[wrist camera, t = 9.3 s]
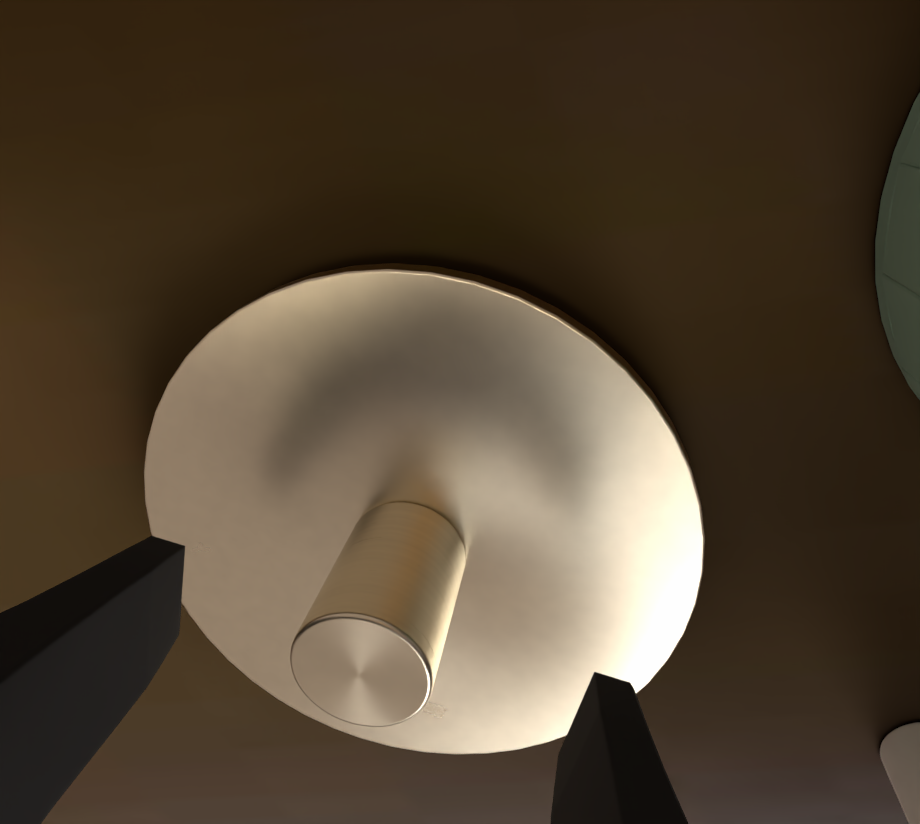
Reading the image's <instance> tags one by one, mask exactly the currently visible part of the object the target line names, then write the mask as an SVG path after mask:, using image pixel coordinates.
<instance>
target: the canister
mask: <svg viewBox="0 0 920 824" xmlns="http://www.w3.org/2000/svg"><path fill="white" fill-rule="evenodd" d="M875 283H876V289H877V295H878V301H879V308H880V314H881V320H882V323H883V326H884V329H885V332H886V336H887V339H888V342H889V345H890V348H891V351H892V354H893V356H894V358H895V360H896V362H897V364H898V366H899V368H900V370H901V371H902V373H903V375H904V377H905V379H906V381H907V383H908V385H909V387H910V388H911V389H912V391H913V392H914V393H915V395H916V396H917V397H918V399H919V400H920V92H919V94H918V96H917V98H916V100H915V102H914V103H913V106H912V108H911V111H910V113H909V116H908V118H907V120H906V123H905V125H904V128H903V130H902V133H901V135H900V138H899V140H898V142H897V145H896V147H895V150H894V153H893V156H892V160H891V164H890V167H889V171H888V175H887V178H886V182H885V185H884V189H883V193H882V196H881V203H880V210H879V217H878V225H877V232H876V239H875Z"/></svg>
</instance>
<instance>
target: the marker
mask: <svg viewBox="0 0 920 824" xmlns="http://www.w3.org/2000/svg"><path fill="white" fill-rule="evenodd" d="M880 758H881V760H882V763H883V765H884V767H885V770H886V772H887V774H888V777H889V779H890V781H891V783H892V786H893V788H894V790H895V793H896V795H897V797H898V800H899V802H900V804H901V807H902V809H903V811H904V814H905V816H906V818H907V821H908V823H909V824H920V722H917V723H911V724H907V725H903V726H901V727H898V728H896V729H895V730H893V731H892V732H890V733H889V734H888V735H887V736H886V737H885V738H884V740H883V741H882V744H881V747H880Z"/></svg>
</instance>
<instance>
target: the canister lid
mask: <svg viewBox="0 0 920 824" xmlns="http://www.w3.org/2000/svg"><path fill="white" fill-rule="evenodd" d="M144 486H145V504H146V509H147V515H148V521H149V526H150V531H151V535H152V536H154V537H158V538H161V539H164V540H168V541H171V542H174V543H177V544H181V545H184V546H185V557H184V572H183V586H182V600H181V603H182V604H183V606H184V607H185V609H186V611H187V612H188V614H189V615H190V617H191V618H192V619H193V620H194V622H195V623H196V624H197V626H198V627H199V628H200V630H201V631H202V632H203V633H204V635H205V636H206V637H207V638H208V640H209V641H210V642H211V643H212V644H213V645H214V646H215V647H216V648H217V649H218V650H219V651H220V652H221V653H222V654H223V655H224V656H225V657H226V659H227V660H228V661H230V662H231V663H232V664H233V665H234V666H235V667H236V668H238V669H239V670H240V671H241V672H242V673H243V674H244V675H246V676H247V677H248V678H249V679H250V680H251V681H253V682H254V683H256V684H257V685H258V686H260V687H261V688H263V689H264V690H265V691H267V692H268V693H270V694H271V695H272V696H274V697H275V698H277V699H278V700H280V701H282V702H283V703H285V704H287V705H288V706H290V707H292V708H293V709H295V710H297V711H299V712H300V713H302V714H304V715H306V716H308V717H310V718H312V719H314V720H316V721H319V722H321V723H323V724H325V725H327V726H329V727H331V728H334V729H336V730H339V731H342V732H345V733H347V734H350V735H353V736H356V737H358V738H361V739H365V740H368V741H372V742H376V743H380V744H383V745H387V746H391V747H396V748H402V749H408V750H414V751H420V752H428V753H442V754H488V753H496V752H504V751H512V750H518V749H522V748H527V747H531V746H535V745H540V744H544V743H547V742H550V741H553V740H556V739H559V738H561V737H564V736H567V734H568V731H569V729H570V727H571V724H572V722H573V720H574V717H575V715H576V713H577V711H578V708H579V706H580V704H581V701H582V699H583V697H584V694H585V692H586V690H587V688H588V685H589V683H590V681H591V678H592V676H593V674H594V672H597V673H601V674H604V675H607V676H610V677H614V678H617V679H620V680H623V681H627V682H630V683H631V685H632V686H633V688H634V690H635V693H636V694H637V693H638V692H639V691H640V690H641V689H642V688H643V687H645V686H646V685H647V684H648V683H649V682H650V681H651V680H652V678H653V677H654V676H655V675H656V674H657V672H658V671H659V670H660V669H661V668H662V666H663V665H664V664H665V663H666V662H667V660H668V659H669V658H670V656H671V654H672V653H673V651H674V649H675V648H676V646H677V644H678V643H679V641H680V639H681V638H682V636H683V634H684V633H685V631H686V628H687V625H688V623H689V620H690V618H691V615H692V613H693V610H694V608H695V605H696V603H697V599H698V594H699V590H700V585H701V580H702V576H703V571H704V553H705V531H704V522H703V513H702V505H701V500H700V496H699V492H698V489H697V485H696V482H695V478H694V475H693V471H692V467H691V464H690V460H689V457H688V455H687V453H686V451H685V448H684V446H683V444H682V442H681V440H680V437H679V435H678V433H677V431H676V428H675V426H674V424H673V423H672V421H671V419H670V418H669V416H668V415H667V413H666V412H665V410H664V409H663V407H662V405H661V404H660V402H659V401H658V399H657V398H656V396H655V395H654V393H653V391H652V390H651V389H650V388H649V387H648V386H647V384H646V383H645V382H644V381H643V380H642V379H641V377H640V376H639V375H638V374H637V373H636V372H635V370H634V369H633V368H632V367H631V366H630V365H629V364H628V362H627V361H626V360H625V359H624V358H623V357H621V356H620V355H619V354H618V353H617V352H616V351H615V350H613V349H612V348H611V347H610V346H609V345H608V344H607V343H605V342H604V341H603V340H602V339H601V338H600V337H599V336H598V335H596V334H595V333H594V332H593V331H591V330H590V329H588V328H587V327H585V326H584V325H582V324H581V323H579V322H578V321H576V320H575V319H573V318H572V317H570V316H569V315H567V314H566V313H564V312H563V311H561V310H560V309H558V308H556V307H554V306H552V305H550V304H548V303H546V302H544V301H542V300H540V299H538V298H536V297H534V296H532V295H530V294H528V293H526V292H524V291H522V290H520V289H517V288H515V287H512V286H509V285H506V284H503V283H500V282H497V281H494V280H491V279H488V278H486V277H483V276H480V275H476V274H471V273H466V272H461V271H457V270H452V269H447V268H442V267H437V266H426V265H412V264H398V263H388V264H372V265H356V266H349V267H344V268H339V269H334V270H329V271H324V272H320V273H315V274H312V275H309V276H306V277H303V278H301V279H298V280H295V281H292V282H289V283H287V284H284V285H281V286H278V287H277V288H275V289H273V290H271V291H269V292H267V293H265V294H264V295H262V296H260V297H258V298H256V299H254V300H253V301H251V302H249V303H247V304H245V305H244V306H242V307H241V308H239V309H237V310H236V311H235V312H233V313H232V314H231V315H230V316H228V317H227V318H226V319H224V320H223V321H222V322H220V323H219V324H218V325H216V326H215V327H214V328H213V329H211V330H210V331H209V332H208V333H207V334H206V335H205V336H204V337H203V338H202V339H201V340H200V342H199V343H198V344H197V345H196V346H195V347H194V348H193V349H192V350H191V351H190V352H189V353H188V354H187V355H186V357H185V358H184V360H183V361H182V363H181V364H180V366H179V367H178V369H177V370H176V372H175V373H174V375H173V376H172V378H171V379H170V381H169V382H168V385H167V387H166V389H165V391H164V393H163V396H162V398H161V400H160V402H159V404H158V407H157V409H156V411H155V415H154V418H153V422H152V426H151V430H150V433H149V437H148V441H147V448H146V457H145V466H144Z"/></svg>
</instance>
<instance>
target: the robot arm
mask: <svg viewBox="0 0 920 824" xmlns="http://www.w3.org/2000/svg"><path fill="white" fill-rule="evenodd" d="M184 557H185V546H184V545H181V544H177V543H174V542H171V541H168V540H164V539H161V538H158V537H154V536H151V537H149V538H147V539H145V540H143V541H141V542H139V543H137V544H135V545H133V546H131V547H129V548H127V549H125V550H124V551H122V552H120V553H118V554H116V555H114V556H112V557H110V558H108V559H107V560H105V561H103V562H101V563H99V564H97V565H95V566H93V567H91V568H90V569H88V570H86V571H84V572H82V573H80V574H78V575H76V576H74V577H72V578H71V579H69V580H67V581H65V582H63V583H61V584H59V585H57V586H55V587H53V588H51V589H49V590H47V591H45V592H43V593H41V594H39V595H37V596H35V597H33V598H31V599H29V600H27V601H25V602H23V603H21V604H19V605H17V606H15V607H12V608H10V609H8V610H6V611H4V612H2V613H0V824H41V823H42V821H43V820H44V819H45V817H46V816H47V815H48V813H49V812H50V810H51V809H52V808H53V806H54V805H55V804H56V802H57V801H58V800H59V799H60V797H61V796H62V795H63V794H64V792H65V791H66V790H67V789H68V787H69V786H70V785H71V783H72V782H73V781H74V780H75V778H76V777H77V776H78V775H79V773H80V772H81V771H82V770H83V768H84V767H85V766H86V764H87V763H88V762H89V761H90V759H91V758H92V757H93V756H94V754H95V753H96V752H97V751H98V749H99V748H100V747H101V745H102V744H103V743H104V742H105V740H106V739H107V738H108V737H109V735H110V734H111V733H112V732H113V730H114V729H115V728H116V726H117V725H118V724H119V723H120V721H121V720H122V719H123V717H124V716H125V715H126V714H127V712H128V711H129V710H130V708H131V707H132V706H133V705H134V703H135V702H136V701H137V699H138V698H139V697H140V696H141V694H142V693H143V692H144V690H145V689H146V688H147V686H148V685H149V683H150V681H151V680H152V678H153V677H154V675H155V673H156V672H157V670H158V669H159V667H160V665H161V664H162V662H163V661H164V659H165V657H166V655H167V654H168V652H169V650H170V649H171V647H172V645H173V644H174V642H175V640H176V639H177V637H178V635H179V629H180V615H181V600H182V586H183V572H184ZM551 824H688V822H687V819H686V817H685V815H684V813H683V810H682V808H681V806H680V804H679V801H678V799H677V797H676V794H675V792H674V790H673V788H672V785H671V783H670V781H669V778H668V776H667V774H666V771H665V769H664V766H663V764H662V762H661V759H660V756H659V754H658V751H657V749H656V746H655V744H654V741H653V739H652V736H651V734H650V731H649V728H648V726H647V723H646V720H645V718H644V715H643V712H642V709H641V707H640V704H639V701H638V698H637V696H636V693H635V690H634V688H633V686H632V685H631V683H630V682H627V681H623V680H620V679H617V678H614V677H610V676H607V675H604V674H601V673H597V672H594V674H593V676H592V678H591V681H590V683H589V685H588V688H587V690H586V692H585V694H584V697H583V699H582V701H581V704H580V706H579V708H578V711H577V713H576V715H575V717H574V720H573V722H572V724H571V727H570V729H569V731H568V734H567V736H566V738H565V740H564V743H563V745H562V747H561V750H560V752H559V755H558V763H557V771H556V779H555V787H554V795H553V804H552V813H551Z"/></svg>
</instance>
